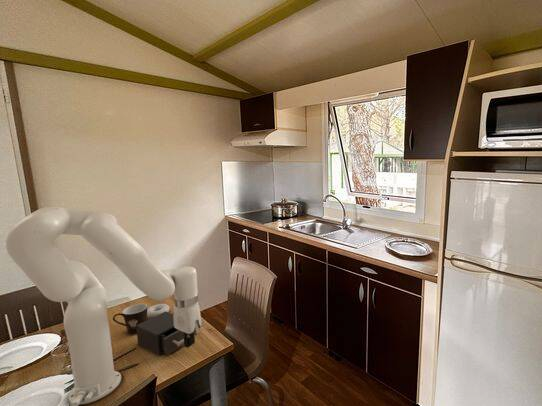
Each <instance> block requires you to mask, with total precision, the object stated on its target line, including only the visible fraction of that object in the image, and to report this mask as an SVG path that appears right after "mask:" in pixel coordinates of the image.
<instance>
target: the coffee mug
mask: <svg viewBox="0 0 542 406" xmlns="http://www.w3.org/2000/svg"><path fill="white" fill-rule="evenodd" d="M147 309H148V304H147V303H136V304H133V305H129V306H127V307H126V308H125V307H124V309H122V313H116V314H114V315H113V316H112V320H113V322H114V323H116V324H118V325H121V326H123V327H126V331H127V334H128V335H132V336H133V335H134V336H135V335H137V329H136V325H138V324H140V323H142V322H144V321H146V320H148V318H147ZM117 316H122V317H123V320H124V322H120V321H118V320H116V317H117Z"/></svg>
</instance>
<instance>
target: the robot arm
mask: <svg viewBox="0 0 542 406" xmlns="http://www.w3.org/2000/svg"><path fill="white" fill-rule="evenodd" d="M61 235H73V236H82V238H83V239H84V240H85V241H86V242H87V243H89V244H90V245H91V246H92V247H93V248H95V249H96V250H97V251H98V252H100V253H101V254H102V255H103V256H104V257H105V258H106V259H108V260H109V261H110V262H111V263H113V264H114V265H115V266H116V267H117V269H119V271H120V273H122V274H123V275H124V277H126V278H127V279H128V280H129V281H130V282H131V284H133V285H134V286H135V287H136V288H137V289H138V290H139V291H140V292H142V293H143V294H144V295H145V296H147V297H148V298H149V299H151V300H153V301H155V302H163V301H166V300H168V299H170V298H171V297H172V296H173V295H174V296H173V297H174V304H173V305H174V306H173V313H172V314H173V319H174V327H175V328H176V329H178V330H180V331H182V334H183V336H185V337H184V345H183V347H184V348H185V347H186V348H187V349H188V348H190V347H191V346H192V345H194V344H195V343H196V339H195V336H197V335H199V334H200V333H201V332H200V329H201V328H202V316H201V309H200V304H199V290H198V288H199V287H198V274H197V269H196V268H195V267H194V266H183V267H180V268H175V269H174V268H173V269H159V268H158V267H157V266H156V265H155V264H154V263H153V261H152V260H151V259H150V257H149V256H148V253H147V251H146V250H145V248H143V246H142V245H141V244H140V243H138V241H137V240H136V239H134V237H132V236H131V235H130V234H129V233H128V232H127V231H126V230H125V229H123V227H121V226H120V224H118V220H117V218H116V216H114V215H113V214H112V213H109V212H107V211H99V210H91V209H83V208H82V209H81V208H74V207H73V208H72V207H65V206H64V207H63V206H45V207H41V208H38V209H37V210H35V211H33V212H31V213H29V214H27V215H26V216H24V217H23V218H22V219H21V220H19V221H18V222H17V223H16V224H15V225H14V226H13V227H12V229H11V230H10V231H9V233H8V235H7V237H6V240H5V248H6V252H7V254H8V255H9V257H10V259H12V261H13V262H14V263H15V264H16V265H17V266H18V267H19V268H20V270H21V271H22V272H24V274H25V276H27V278H28V279H29V280H30V281H31V283H32V284H33V285H35V287H36V289H38V290H39V292H41V294H42V295H43V296H44V297H45V298H46V299H48V300H49V301H52V302H57V303H64V302H66V304H67V306H66V309H65V312H64V315H63V329H64V331H65V336H66V339H67V345H68V352H69V357H70V365H71V372H72V379H73V386H74V387H73V388H72V389H71V390H70V392H69V393H68V401H69V403H70V404H69V406H79V405H80V406H81V405H87V404H90V403H94V402H96V401H98V400H100V399H103V398H104V397H106V396H107V395H109V394H110V393H112V392H113V391H114V390H115V389H116V388H117V387H118V386H119V385H120V383H121V381H122V374H121V373H120V372H119V371H117V370H115V365H114V357H113V356H114V355H113V349H112V341H111V340H112V339H111V331H110V324H109V318H108V305H109V294H108V292H107V290H106V288H105V287H104V285H102V283H101V282H100V280H99V279H98V278H97V277H96V276H95V275H94V273H93V272H92V270H91V269H90V268H89V267H88V266H87V265H86V264H84V263H82V262H80V261H77V260H68V258H67V257H66V256H65V253H63V252H62V251H61V250H60V249H59V248H58V247H57V246H56V244H55V240H57V239H58V238H59V237H60V236H61Z"/></svg>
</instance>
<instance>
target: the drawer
mask: <svg viewBox="0 0 542 406" xmlns="http://www.w3.org/2000/svg"><path fill="white" fill-rule="evenodd" d="M184 337H185V336H183V334H182V331H180V330H178V329H176V328H173V329H171V330H169V331H167V332H166V333H164V334H162V335H160V344H161V350H162V351H165V352H164V356H169V355H170V354H171V353H173V352H175V351H177V350H178V349H180V348H182V347H184Z"/></svg>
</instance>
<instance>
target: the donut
mask: <svg viewBox="0 0 542 406" xmlns="http://www.w3.org/2000/svg"><path fill="white" fill-rule="evenodd" d="M165 311H166V312H169V313H170V306H169V305H168V304H166V303H157V304H154V305H151V306H149V307H147V319H148V320H149V319H151V318H153V317H155V316H157V315H159V314H161V313H163V312H165Z"/></svg>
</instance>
